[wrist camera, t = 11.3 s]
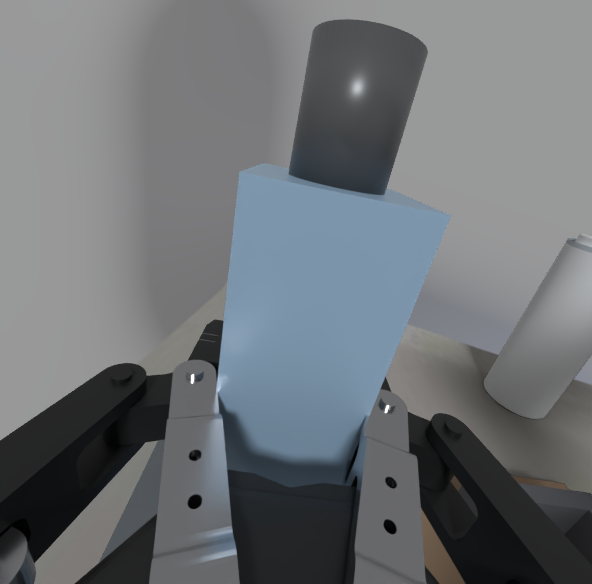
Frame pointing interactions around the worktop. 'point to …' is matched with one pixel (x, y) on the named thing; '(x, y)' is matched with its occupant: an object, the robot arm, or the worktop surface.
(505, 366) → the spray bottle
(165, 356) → the worktop surface
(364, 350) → the plug
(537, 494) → the holster
